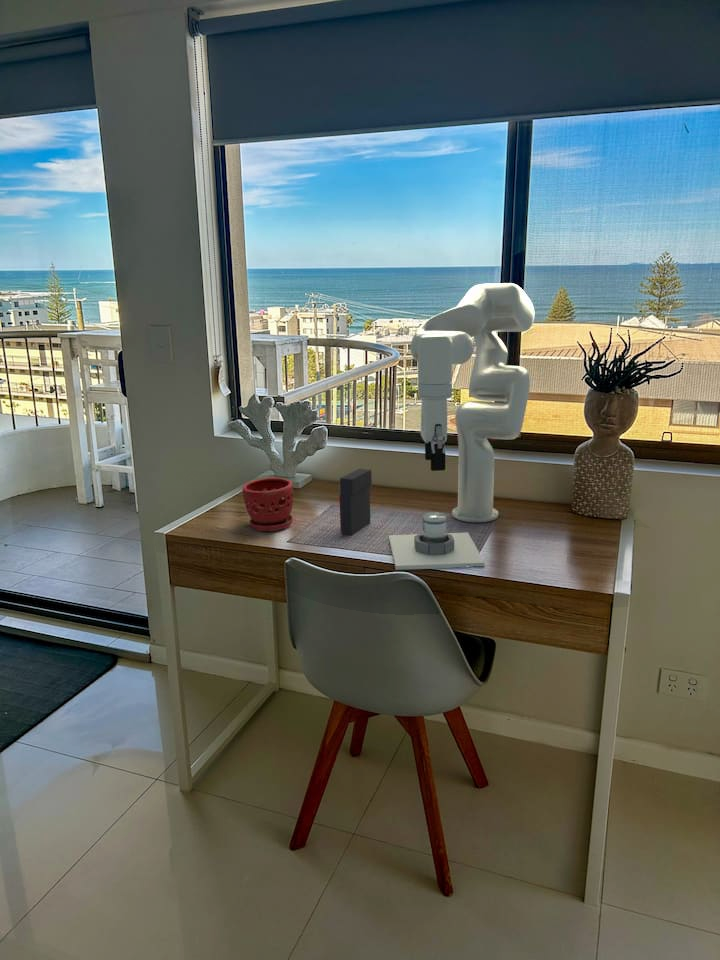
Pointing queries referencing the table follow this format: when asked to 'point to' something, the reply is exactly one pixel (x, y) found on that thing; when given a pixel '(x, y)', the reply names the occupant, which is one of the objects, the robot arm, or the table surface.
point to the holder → (434, 552)
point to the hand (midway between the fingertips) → (434, 464)
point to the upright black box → (355, 501)
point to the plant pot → (269, 503)
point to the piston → (434, 527)
